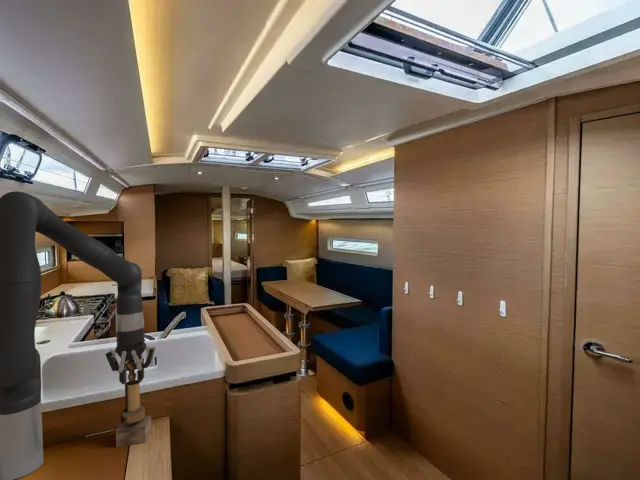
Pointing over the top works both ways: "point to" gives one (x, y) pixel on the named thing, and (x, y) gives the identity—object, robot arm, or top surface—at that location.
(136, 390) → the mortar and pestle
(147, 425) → the walnut stand
